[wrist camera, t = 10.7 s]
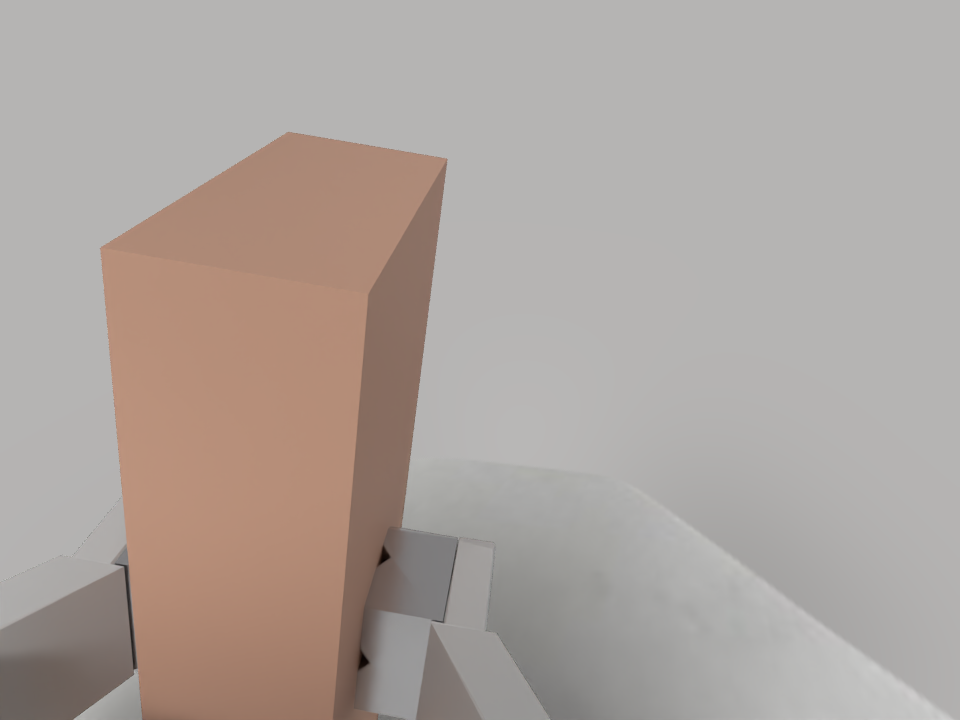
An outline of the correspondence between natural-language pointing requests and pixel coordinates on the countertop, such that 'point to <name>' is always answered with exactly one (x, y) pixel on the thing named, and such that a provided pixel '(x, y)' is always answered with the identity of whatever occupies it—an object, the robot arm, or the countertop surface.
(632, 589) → the countertop surface
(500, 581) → the countertop surface
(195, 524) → the domino
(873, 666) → the countertop surface
